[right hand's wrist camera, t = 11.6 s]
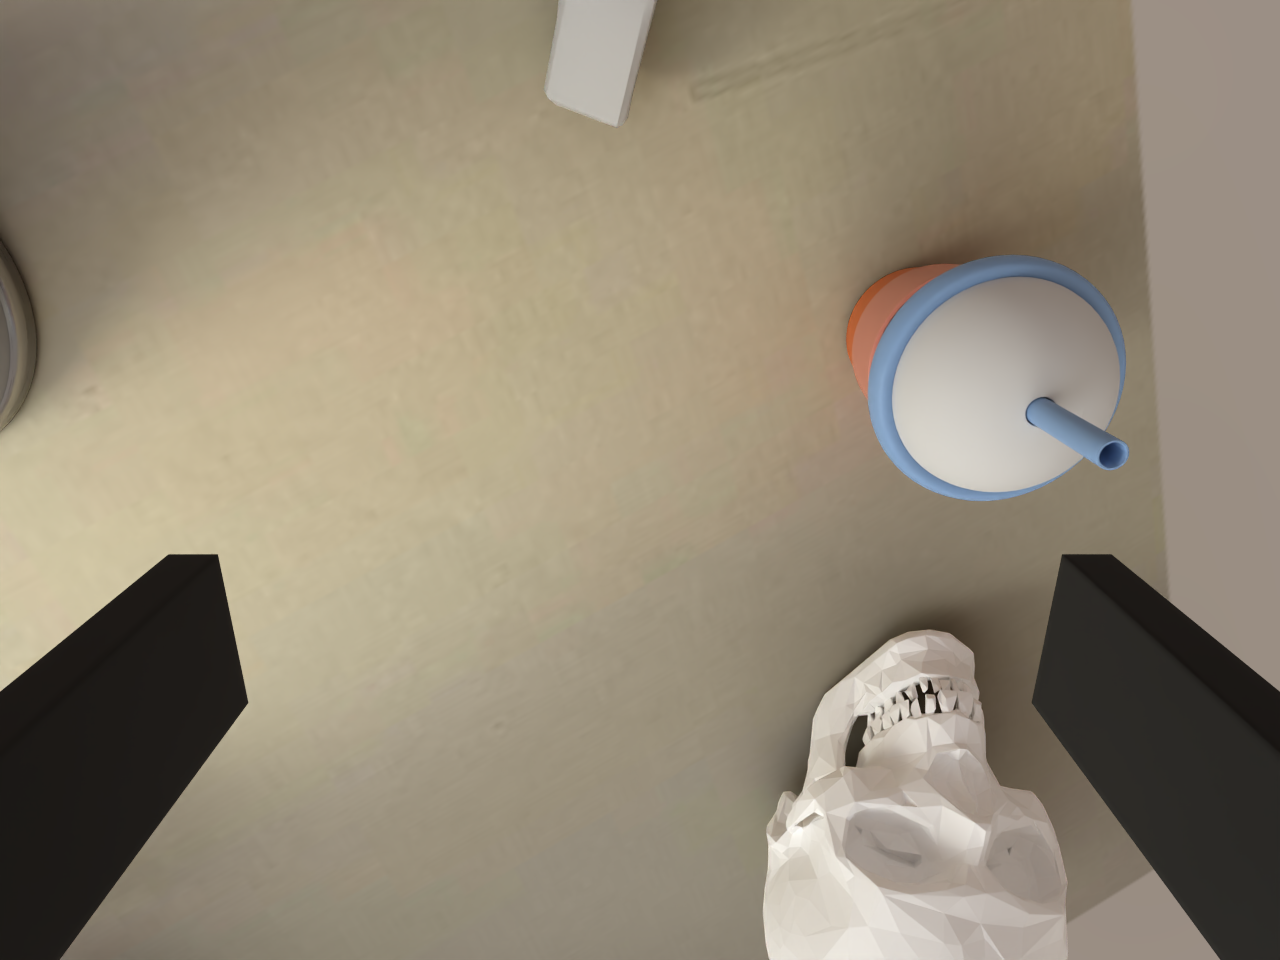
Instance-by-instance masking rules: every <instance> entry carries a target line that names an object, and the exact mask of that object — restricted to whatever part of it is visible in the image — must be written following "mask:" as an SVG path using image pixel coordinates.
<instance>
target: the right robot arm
mask: <svg viewBox="0 0 1280 960" xmlns="http://www.w3.org/2000/svg"><path fill="white" fill-rule="evenodd" d="M36 350H37V347H36V330H35V323H34V317H33V313H32V309H31V304H30V301H29V298H28V295H27V292H26V289H25V286H24V284H23V281H22V279H21V277H20V274H19V272H18V270H17V268H16V266H15V264H14V262H13V261H12V259H11V257H10V255H9V253H8V252H7V250H6V249H5V247H4V245H3V244H2V242H1V241H0V431H1V430H2V429H3V428H4V427H5V426H6V425H7V424H8V423H9V422H10V421H11V420H12V418H13V417H14V416H15V415H16V413H17V412H18V410H19V409H20V407H21V405H22V404H23V402H24V400H25V398H26V396H27V393H28V391H29V389H30V385H31V382H32V379H33V375H34V369H35V364H36ZM247 704H248V699H247V694H246V689H245V684H244V679H243V675H242V670H241V665H240V660H239V655H238V650H237V645H236V641H235V636H234V631H233V626H232V621H231V616H230V611H229V607H228V602H227V597H226V592H225V587H224V582H223V577H222V573H221V568H220V563H219V558H218V554H169V555H167V556H166V557H165V558H164V559H162V560H161V561H160V562H159V563H157V564H156V565H155V566H154V567H153V568H151V569H150V570H149V571H148V572H146V573H145V574H144V575H143V576H142V577H140V578H139V579H138V580H137V581H135V582H134V583H133V584H132V585H131V586H129V587H128V588H127V589H126V590H124V591H123V592H122V593H121V594H119V595H118V596H117V597H116V598H115V599H113V600H112V601H111V602H110V603H108V604H107V605H106V606H105V607H104V608H102V609H101V610H100V611H99V612H97V613H96V614H95V615H94V616H93V617H91V618H90V619H89V620H88V621H86V622H85V623H84V624H83V625H81V626H80V627H79V628H78V629H77V630H75V631H74V632H73V633H72V634H70V635H69V636H68V637H67V638H66V639H64V640H63V641H62V642H61V643H59V644H58V645H57V646H56V647H55V648H53V649H52V650H51V651H50V652H48V653H47V654H46V655H45V656H43V657H42V658H41V659H40V660H39V661H37V662H36V663H35V664H34V665H32V666H31V667H30V668H29V669H28V670H26V671H25V672H24V673H23V674H21V675H20V676H19V677H18V678H17V679H15V680H14V681H13V682H12V683H10V684H9V685H8V686H7V687H5V688H4V689H3V690H2V691H1V692H0V960H60V958H61V957H62V956H63V954H64V953H65V952H66V950H67V949H68V948H69V946H70V945H71V943H72V942H73V941H74V939H75V938H76V937H77V935H78V934H79V933H80V931H81V930H82V928H83V927H84V926H85V924H86V923H87V922H88V920H89V919H90V918H91V916H92V915H93V913H94V912H95V911H96V909H97V908H98V907H99V905H100V904H101V903H102V901H103V900H104V899H105V897H106V896H107V894H108V893H109V892H110V890H111V889H112V888H113V886H114V885H115V884H116V882H117V881H118V879H119V878H120V877H121V875H122V874H123V873H124V871H125V870H126V869H127V867H128V866H129V865H130V863H131V862H132V860H133V859H134V858H135V856H136V855H137V854H138V852H139V851H140V850H141V848H142V847H143V845H144V844H145V843H146V841H147V840H148V839H149V837H150V836H151V835H152V833H153V832H154V830H155V829H156V828H157V826H158V825H159V824H160V822H161V821H162V820H163V818H164V817H165V816H166V814H167V813H168V811H169V810H170V809H171V807H172V806H173V805H174V803H175V802H176V801H177V799H178V798H179V796H180V795H181V794H182V792H183V791H184V790H185V788H186V787H187V786H188V784H189V783H190V781H191V780H192V779H193V777H194V776H195V775H196V773H197V772H198V771H199V769H200V768H201V767H202V765H203V764H204V762H205V761H206V760H207V758H208V757H209V756H210V754H211V753H212V752H213V750H214V749H215V747H216V746H217V745H218V743H219V742H220V741H221V739H222V738H223V737H224V735H225V734H226V733H227V731H228V730H229V728H230V727H231V726H232V724H233V723H234V722H235V720H236V719H237V718H238V716H239V715H240V713H241V712H242V711H243V709H244V708H245V707H246V705H247ZM1032 704H1033V705H1034V707H1035V708H1036V709H1037V711H1038V712H1039V713H1040V715H1041V716H1042V718H1043V719H1044V720H1045V722H1046V723H1047V724H1048V726H1049V727H1050V728H1051V730H1052V731H1053V733H1054V734H1055V735H1056V737H1057V738H1058V739H1059V741H1060V742H1061V743H1062V745H1063V746H1064V747H1065V749H1066V750H1067V752H1068V753H1069V754H1070V756H1071V757H1072V758H1073V760H1074V761H1075V762H1076V764H1077V765H1078V767H1079V768H1080V769H1081V771H1082V772H1083V773H1084V775H1085V776H1086V777H1087V779H1088V780H1089V782H1090V783H1091V784H1092V786H1093V787H1094V788H1095V790H1096V791H1097V792H1098V794H1099V795H1100V796H1101V798H1102V799H1103V801H1104V802H1105V803H1106V805H1107V806H1108V807H1109V809H1110V810H1111V811H1112V813H1113V814H1114V816H1115V817H1116V818H1117V820H1118V821H1119V822H1120V824H1121V825H1122V826H1123V828H1124V829H1125V830H1126V832H1127V833H1128V835H1129V836H1130V837H1131V839H1132V840H1133V841H1134V843H1135V844H1136V845H1137V847H1138V848H1139V850H1140V851H1141V852H1142V854H1143V855H1144V856H1145V858H1146V859H1147V860H1148V862H1149V863H1150V865H1151V866H1152V867H1153V869H1154V870H1155V871H1156V873H1157V874H1158V875H1159V877H1160V878H1161V879H1162V881H1163V882H1164V884H1165V885H1166V886H1167V888H1168V889H1169V890H1170V892H1171V893H1172V894H1173V896H1174V897H1175V899H1176V900H1177V901H1178V903H1179V904H1180V905H1181V907H1182V908H1183V909H1184V911H1185V912H1186V913H1187V915H1188V916H1189V918H1190V919H1191V920H1192V922H1193V923H1194V924H1195V926H1196V927H1197V928H1198V930H1199V931H1200V933H1201V934H1202V935H1203V937H1204V938H1205V939H1206V941H1207V942H1208V943H1209V945H1210V946H1211V948H1212V949H1213V950H1214V952H1215V953H1216V954H1217V956H1218V957H1219V958H1220V960H1280V692H1279V691H1278V690H1277V689H1276V688H1275V687H1273V686H1272V685H1271V684H1270V683H1268V682H1267V681H1266V680H1265V679H1263V678H1262V677H1261V676H1260V675H1259V674H1257V673H1256V672H1255V671H1254V670H1252V669H1251V668H1250V667H1249V666H1248V665H1246V664H1245V663H1244V662H1243V661H1241V660H1240V659H1239V658H1238V657H1237V656H1235V655H1234V654H1233V653H1232V652H1230V651H1229V650H1228V649H1227V648H1225V647H1224V646H1223V645H1222V644H1221V643H1219V642H1218V641H1217V640H1216V639H1214V638H1213V637H1212V636H1211V635H1210V634H1208V633H1207V632H1206V631H1205V630H1203V629H1202V628H1201V627H1200V626H1198V625H1197V624H1196V623H1195V622H1194V621H1192V620H1191V619H1190V618H1189V617H1187V616H1186V615H1185V614H1184V613H1183V612H1181V611H1180V610H1179V609H1178V608H1176V607H1175V606H1174V605H1173V604H1172V603H1170V602H1169V601H1168V600H1167V599H1165V598H1164V597H1163V596H1162V595H1161V594H1159V593H1158V592H1157V591H1156V590H1154V589H1153V588H1152V587H1151V586H1149V585H1148V584H1147V583H1146V582H1145V581H1143V580H1142V579H1141V578H1140V577H1138V576H1137V575H1136V574H1135V573H1134V572H1132V571H1131V570H1130V569H1129V568H1127V567H1126V566H1125V565H1124V564H1123V563H1121V562H1120V561H1119V560H1118V559H1116V558H1115V557H1114V556H1113V555H1111V554H1062V558H1061V563H1060V568H1059V572H1058V577H1057V582H1056V587H1055V592H1054V597H1053V602H1052V607H1051V611H1050V616H1049V621H1048V626H1047V631H1046V636H1045V641H1044V645H1043V650H1042V655H1041V660H1040V665H1039V670H1038V675H1037V679H1036V684H1035V689H1034V694H1033V699H1032Z"/></svg>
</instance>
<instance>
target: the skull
mask: <svg viewBox="0 0 1280 960" xmlns="http://www.w3.org/2000/svg"><path fill="white" fill-rule="evenodd" d="M974 671H975V663H974V653H973V652H972V651H971V650H970V649H969V648H968V647H967V646H965V645H964V644H963V643H962V642H960V641H959V640H958V639H957V638H955V637H954V636H953V635H952V634H950V633H947V632H941V631H936V630H930V629H929V630H920V631H910V632H906V633H904V634H902V635H899V636H897V637H895V638H892V639H890V640H889V641H887V642H886V643H885V644H884V645H883V646H882V647H880V648H879V649H878V650H877V651H876V652H874V653H873V654H872V655H871V656H870V657H869V658H867V659H866V660H865V661H864V662H863V663H861V664H860V665H859V666H858V667H857V668H855V669H854V670H853V671H852V672H851V673H849V674H848V675H847V676H846V677H845V678H843V679H842V680H841V681H840V682H839V683H837V684H836V685H835V686H834V687H833V688H831V689H830V690H829V691H828V692H827V693H825V695H824V696H823V698H822V700H821V702H820V704H819V706H818V708H817V711H816V713H815V715H814V718H813V724H812V735H811V746H810V755H809V759H808V771H807V775H806V778H805V782H804V786H803V790H802V792H801V793H800V795H799V796H797V795H795V794H794V793H793V792H791V791H788V792H783V793H782V795H781V797H780V799H779V802H778V806H777V811H776V812H775V814H774V816H773V817H772V819H771V820H770V822H769V823H768V825H767V829H766V832H767V839H768V845H769V847H768V872H767V878H766V884H765V890H764V905H763V919H764V929H765V940H766V947H767V951H768V956H769V960H1067V958H1068V944H1067V926H1066V908H1065V899H1066V891H1067V878H1066V873H1065V869H1064V865H1063V860H1062V856H1061V852H1060V847H1059V844H1058V841H1057V838H1056V834H1055V831H1054V828H1053V826H1052V823H1051V821H1050V819H1049V817H1048V815H1047V813H1046V810H1045V808H1044V806H1043V804H1042V803H1041V802H1040V800H1039V799H1038V798H1037V796H1036V795H1035V794H1034V793H1033V792H1032V791H1028V790H1020V789H1013V788H1008V787H1004V786H1000V784H999V782H998V781H997V779H996V777H995V775H994V773H993V772H992V770H991V768H990V766H989V764H988V763H987V759H986V734H985V729H984V715H983V710H982V709H981V704H982V702H980V701H978V699H979V690H978V687H977V684H976V682H975V679H974ZM928 681H931V682H932V686H933V690H934V693H936V692H937V691H939V690H940V691H939V693H938V695H937V698H938V701H939V704H940V707H941V711H942V713H934V712H935V709H936V697H935V695H933V694H925V714H921V711H920V707H919V703H918V699H917V698H918V694H917V691H916V687H915V686H916V685H918V684H920V686H921V689H922V692H924V693H925V692H926V691H927V689H928ZM939 681H940V682H939ZM950 686H951V688H952V690H950ZM941 688H942V690H941ZM904 691H905V693H906V694H907V696H908V697H909V698H910V700H911V701H914V702H913V703H912V704H911V713H912V715H913V716H911V714H910V706H909V699H908V700H905V701H904V697H903V695H902V692H904ZM895 701H896V704H894V702H895ZM955 702H956V706H955V710H953V708H954V705H955ZM883 707H884V709H883ZM874 712H875V717H874V715H873V713H874ZM900 712H901V715H902V720H901V721H899V717H900ZM862 715H868V721H867V729H866V731H865V733H864V736H863V739H862V740H863V742H864V744H865V746H864V747H863V749H862V750H861V751H860V752H859V755H858V761H857V765H856V767H848V766H845V751H846V747H847V743H848V740H849V736H850V733H851V729H852V726H853V723H854V722H855V720H856V719H857V717H858V716H862Z"/></svg>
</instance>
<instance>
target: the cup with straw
mask: <svg viewBox="0 0 1280 960" xmlns="http://www.w3.org/2000/svg"><path fill="white" fill-rule="evenodd" d="M846 342H847V350H848V355H849V358H850V361H851V363H852V366H853V369H854V373H855V377H856V379H857V381H858V384H859V386H860V388H861V390H862V391H863V393H864V395H865V397H866V398H867V400H868V406H869V412H870V418H871V422H872V425H873V428H874V431H875V434H876V436H877V438H878V440H879V442H880V444H881V446H882V448H883V450H884V451H885V453H886V454H887V456H888V457H889V458H890V459H891V461H892V462H893V463H894V464H895V465H896V466H897V467H898V468H899V469H900V470H901V471H902V472H903V473H904V474H905V475H906V476H908V477H909V478H910V479H912V480H913V481H914V482H916V483H918V484H919V485H921V486H923V487H925V488H927V489H929V490H931V491H933V492H936V493H938V494H941V495H944V496H948V497H952V498H956V499H962V500H969V501H993V500H1001V499H1007V498H1011V497H1016V496H1019V495H1022V494H1026V493H1028V492H1031V491H1033V490H1036V489H1038V488H1041V487H1043V486H1045V485H1047V484H1049V483H1050V482H1052V481H1054V480H1055V479H1057V478H1059V477H1060V476H1062V475H1063V474H1065V473H1066V472H1067V471H1069V470H1070V469H1071V468H1073V467H1074V466H1075V465H1076V464H1077V463H1078V462H1080V461H1081V460H1082V459H1083V458H1084V457H1085V458H1087V459H1088V460H1090V461H1091V462H1093V463H1094V464H1096V465H1098V466H1099V467H1101V468H1102V469H1105V470H1114V469H1117V468H1119V467H1121V466H1122V465H1123V464H1124V463H1125V462H1126V461H1127V459H1128V456H1129V448H1128V446H1127V444H1126V443H1124V442H1123V441H1121V440H1120V439H1118V438H1116V437H1114V436H1112V435H1111V434H1109V433H1107V432H1105V430H1106V429H1107V427H1108V425H1109V424H1110V422H1111V420H1112V418H1113V416H1114V413H1115V411H1116V409H1117V406H1118V403H1119V401H1120V397H1121V394H1122V390H1123V385H1124V379H1125V370H1126V352H1125V345H1124V339H1123V335H1122V331H1121V328H1120V326H1119V323H1118V320H1117V318H1116V316H1115V314H1114V312H1113V310H1112V308H1111V307H1110V305H1109V304H1108V302H1107V301H1106V299H1105V298H1104V297H1103V295H1102V294H1101V293H1100V292H1099V291H1098V290H1097V289H1096V288H1095V287H1094V286H1093V285H1092V284H1091V283H1090V282H1089V281H1088V280H1086V279H1085V278H1084V277H1082V276H1081V275H1079V274H1078V273H1076V272H1075V271H1073V270H1071V269H1069V268H1067V267H1066V266H1063V265H1061V264H1058V263H1056V262H1053V261H1050V260H1046V259H1043V258H1039V257H1033V256H1027V255H999V256H992V257H985V258H981V259H977V260H973V261H970V262H968V263H965V264H932V265H927V266H922V267H915V268H906V269H902V270H899V271H896V272H893V273H891V274H888V275H886V276H885V277H883V278H881V279H880V280H878V281H877V282H875V283H874V284H873V285H872V286H871V287H870V288H869V289H868V290H867V291H866V292H865V293H864V294H863V295H862V296H861V298H860V299H859V301H858V302H857V304H856V306H855V307H854V309H853V312H852V314H851V316H850V319H849V323H848V327H847V337H846Z"/></svg>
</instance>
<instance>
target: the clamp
mask: <svg viewBox="0 0 1280 960" xmlns="http://www.w3.org/2000/svg"><path fill="white" fill-rule="evenodd" d="M656 4H657V0H559V4H558V12H557V20H556V26H555V31H554V37H553V42H552V47H551V53H550V58H549V64H548V69H547V74H546V80H545V85H544V91H545V93H546V95H547V97H548V99H549V100H550V101H552V102H553V103H554V104H556V105H557V106H560V107H563V108H565V109H568V110H571V111H573V112H576V113H579V114H581V115H584V116H587V117H589V118H592V119H595V120H597V121H600V122H603V123H605V124H608V125H610V126H613V127H616V128H618V127H619V126H622V125H623V124H624V122H625V121H626V120H627V118H628V114H629V110H630V105H631V100H632V95H633V91H634V87H635V83H636V79H637V75H638V72H639V68H640V64H641V60H642V56H643V53H644V49H645V45H646V41H647V38H648V34H649V30H650V26H651V22H652V19H653V15H654V11H655V7H656Z"/></svg>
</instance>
